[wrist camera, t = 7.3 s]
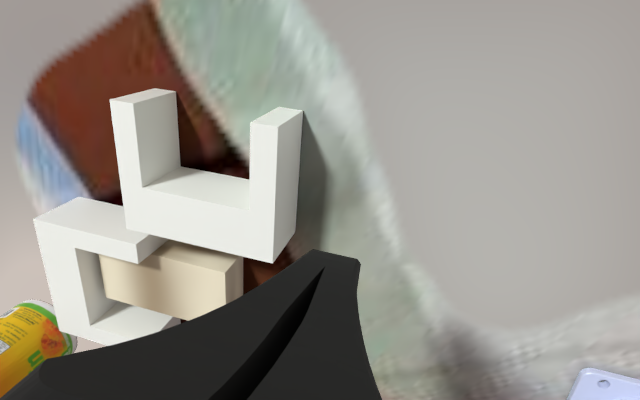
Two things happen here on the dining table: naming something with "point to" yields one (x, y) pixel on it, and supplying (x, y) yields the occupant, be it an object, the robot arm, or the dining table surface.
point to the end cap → (94, 271)
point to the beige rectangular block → (175, 280)
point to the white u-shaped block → (207, 180)
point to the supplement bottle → (29, 341)
